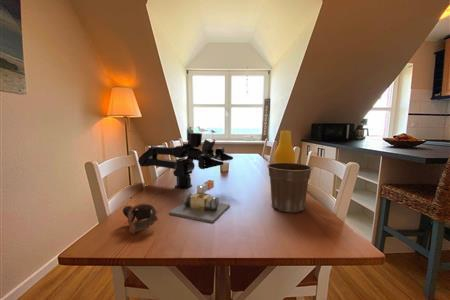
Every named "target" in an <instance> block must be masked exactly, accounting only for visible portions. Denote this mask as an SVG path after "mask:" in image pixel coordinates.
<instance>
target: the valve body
mask: <svg viewBox="0 0 450 300" xmlns="http://www.w3.org/2000/svg"><path fill="white" fill-rule="evenodd" d="M182 202H183V203H184V205H185V206H190V207H191V210H197V211H202V212H205V211H206V210H212V211H216V210H217V208H218V203H220V202H219V198H218V197H217V196H213V197H212V194H211V193H206V192H205V193H204V194H197V192H196V193H194V194H192V193H190V192H187V193H185V194H184V196H183V201H182ZM183 203H182V204H183Z"/></svg>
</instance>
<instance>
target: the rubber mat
mask: <svg viewBox="0 0 450 300" xmlns="http://www.w3.org/2000/svg"><path fill="white" fill-rule="evenodd" d="M230 207H231V204H228V203H223V202H219V203H218V208H217V210H216V211H212V210H206V211H205V212H202V211H197V210H191V207H190V206H185V205H184V203H182V204H180V205H178V206H176V207H175V208H173V209H171V210H169V212H168V214H169V215H172V216H176V217H182V218H187V219H191V220H192V219H193V220H197V221H203V222H208V223H211V224H213V223H215V222H216V220H218V219H219V217H221V216H222V215H223V214H224V213H225V212H226V211H227V210H228V209H229V208H230Z"/></svg>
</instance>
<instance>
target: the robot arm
mask: <svg viewBox="0 0 450 300" xmlns="http://www.w3.org/2000/svg"><path fill="white" fill-rule="evenodd" d="M202 141H203V133H201V132H188V133H187V143H184V144H183V145H181V146H175V147H173V146H172V147H171V146H169V147H168V146H159V145H158V146H156V145H154V146H150V147H149V148H147V150H146V151H145V152H143V153H142V154H141V156H139V158H138V161H137V163H138V162H139V163H138V164H139V166H140V167H142V168H143V167H144V168H146V167H159V168H166V169H173V176H174V177H176V185H175V186H174V188H179V189H184V190H185V189H187V188H190V187H193V184H192V181H191V179H192V178H191V174H192V173H193V171H194V169H195V166H196V165H195V163H194V161H197V162H198V163H197V167H198V168H199V169H200V170H205V169H210V168H214V167H218V166H219V167H220V166H222V165H224V161H225V162H226V161H231V160H234V157H233V156H232V155H230V154H228V153H226V152H225V147H217V148H216V149H215V151H214V149H213V148H214V146H215V144H216V140H215V139H214V138H210V137H209V138H206V139H205V140H204V141H203V144H202ZM200 146H202V147H201V148H200ZM214 152H215V153H214ZM159 155H167V156H172V157H174V158H177V159H176V160H172V159H167V158H166V159H165V158H158V156H159Z"/></svg>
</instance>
